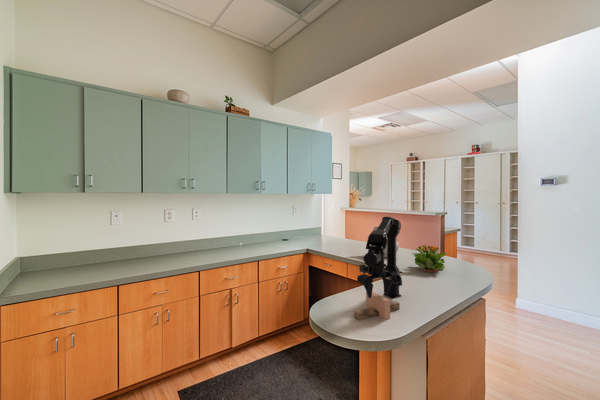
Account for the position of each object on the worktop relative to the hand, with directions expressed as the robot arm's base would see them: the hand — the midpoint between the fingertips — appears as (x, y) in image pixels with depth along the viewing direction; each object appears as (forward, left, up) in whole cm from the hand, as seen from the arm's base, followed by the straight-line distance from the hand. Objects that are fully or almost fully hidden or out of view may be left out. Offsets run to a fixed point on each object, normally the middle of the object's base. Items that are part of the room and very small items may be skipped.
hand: (377, 296), depth 122 cm
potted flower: (-79, -35, -8) cm, 87 cm away
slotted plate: (0, 0, -8) cm, 8 cm away
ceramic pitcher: (-85, -83, -8) cm, 119 cm away
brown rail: (0, 0, -8) cm, 8 cm away
